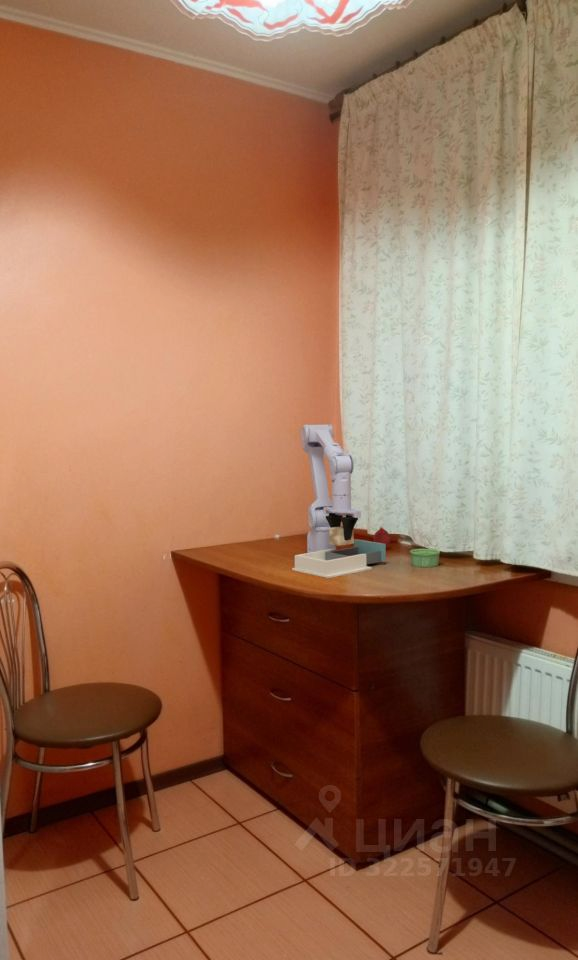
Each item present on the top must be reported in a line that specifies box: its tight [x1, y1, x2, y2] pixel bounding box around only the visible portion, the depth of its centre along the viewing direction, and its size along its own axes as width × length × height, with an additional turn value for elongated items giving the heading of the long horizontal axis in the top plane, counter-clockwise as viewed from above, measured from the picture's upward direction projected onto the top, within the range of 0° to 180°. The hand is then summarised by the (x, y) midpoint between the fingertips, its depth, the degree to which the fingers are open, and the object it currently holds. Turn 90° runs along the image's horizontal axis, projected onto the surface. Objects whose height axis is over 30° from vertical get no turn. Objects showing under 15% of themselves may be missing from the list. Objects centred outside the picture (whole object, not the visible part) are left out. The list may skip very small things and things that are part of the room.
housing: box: [291, 548, 373, 579], centre depth 225 cm, size 18×16×5 cm
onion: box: [372, 526, 391, 548], centre depth 257 cm, size 6×6×8 cm
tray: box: [325, 538, 387, 565], centre depth 231 cm, size 14×13×6 cm
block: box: [329, 525, 355, 547], centre depth 230 cm, size 4×6×5 cm
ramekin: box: [409, 548, 441, 568], centre depth 230 cm, size 9×9×4 cm
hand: (342, 538), depth 230 cm, fingers closed on block, 4 cm apart
